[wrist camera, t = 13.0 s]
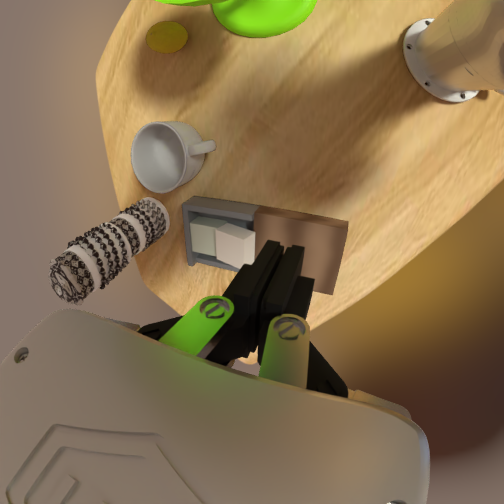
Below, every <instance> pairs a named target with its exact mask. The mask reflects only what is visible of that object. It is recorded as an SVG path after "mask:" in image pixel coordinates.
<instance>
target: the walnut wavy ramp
mask: <svg viewBox="0 0 504 504" xmlns="http://www.w3.org/2000/svg"><path fill="white" fill-rule="evenodd" d="M253 232H255V256H254V261H255V259H256V258H257V256H258V254H259V253H260V251H261V250H262V248H263V246H264V245H265V243H266V242H267V240H273V241H278V242H280V245H282V246H284V253H285V251H286V248H287V247H292V245H298V246H303V247H305V252H304V258H303V265H302V271H301V276H304V277H309V278H314V279H315V283H314V288H313V291H315V292H320V293H324V294H329V295H333V291H334V288H335V284H336V280H337V276H338V272H339V268H340V264H341V259H342V255H343V251H344V246H345V242H346V237H347V232H348V221H343V220H338V219H333V218H328V217H323V216H317V215H312V214H307V213H301V212H296V211H290V210H284V209H278V208H272V207H266V206H259V208H258V209H257V210H256V211H255V212H254V231H253ZM252 264H253V263H252Z"/></svg>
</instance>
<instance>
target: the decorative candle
mask: <svg viewBox="0 0 504 504" xmlns="http://www.w3.org/2000/svg"><path fill="white" fill-rule="evenodd" d="M169 226H170V217H169V214H168V212H167V209H166V207H165V206H164V205H163V204H162V203H161V202H160V201H159V200H157V199H155V198H152V197H146V198H144V199H142V200H141V201H140V202H139V201H137V203H136V205H134V204H132V205H131V206H130V207H129V208H126V209H125V210H124V211H120V213H119V215H117V216H116V217H114V218H113V219H112V220H111V221H110V222H105V223H103V224H101V225H100V226H99V227H95V228H92V229H91V231H88V232H86V233H84V237H82V236H79V237H76V239H75V241H71V242H69V243H68V248H67V250H65V252H64V253H63V254H62V255H60V256H59V257H57V258H56V259H53V260H51V262H50V271H49V281H50V283H51V286H52V287H53V289H54V291H55V292H56V294H57V295H58V296H59V297H60V298H61V299H62V300H63V301H64V302H66V303H68V304H76V305H82V303H83V299H84V298H86V297H87V296H88V295H89V294H90V293H93V292H94V291H95V290H97V289H98V288H99V286H101V287H100V289H104V288H105V284H106V285H108V284H109V281H111V280H112V279H114V278H115V276H117V275H118V272H121V271H122V268H125V267H126V265H128V264H129V262H130V261H131V258H132V257H133V256H134V255H137V254H138V253H140V252H141V251H145V249H147V248H148V247H149V246H150V245H151V244H153V243H155V242H156V241H157V240H158V239H159V238H161V237H162V236H163V235H164V234H165V233H166V232H167V231H168V230H169ZM88 236H89V237H88ZM79 241H80V243H79ZM73 244H74V245H73Z"/></svg>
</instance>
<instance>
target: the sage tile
mask: <svg viewBox="0 0 504 504" xmlns="http://www.w3.org/2000/svg"><path fill="white" fill-rule="evenodd" d="M226 223H227V221H225V220H219V219H213V218H207V217H201V216H198V217H197V218H195V219H194V220H193V221H192V222H191V223H190V230H191V241H192V251H194V252H198V253H203V254H207V255H212V256H216V257H217V254H216V231H215V229H217V228H219V227H221V226H223V225H224V224H226Z"/></svg>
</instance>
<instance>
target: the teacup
mask: <svg viewBox="0 0 504 504" xmlns="http://www.w3.org/2000/svg"><path fill="white" fill-rule="evenodd" d="M215 149H216V143H215V141H214V140H208V141H202V139H201V136H200V135H199V133H198V132H197V131H196V130H195V129H194V128H193V127H192V126H190V125H188V124H186V123H183V122H178V121H166V122H151V123H149V124H146V125H145V126H143V127H142V128H141V129H140V130H139V131H138V133H137V134H136V136H135V138H134V140H133V143H132V148H131V164H132V167H133V170H134V173H135V175H136V177H137V179H138V180H139V181H140V183H141V184H142V185H143V186H144V187H146V188H147V189H148V190H150V191H152V192H155V193H168V192H170V191H172V190H174V189H175V188H177V187H179V186H181V185H183V184H185V183H187V182H188V181H190V180H191V179H193V178H194V177H195V176H196V175H197V174H198V172H199V171H200V169H201V167H202V165H203V162H204V156H205V153H208V152H212V151H214V150H215Z"/></svg>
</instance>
